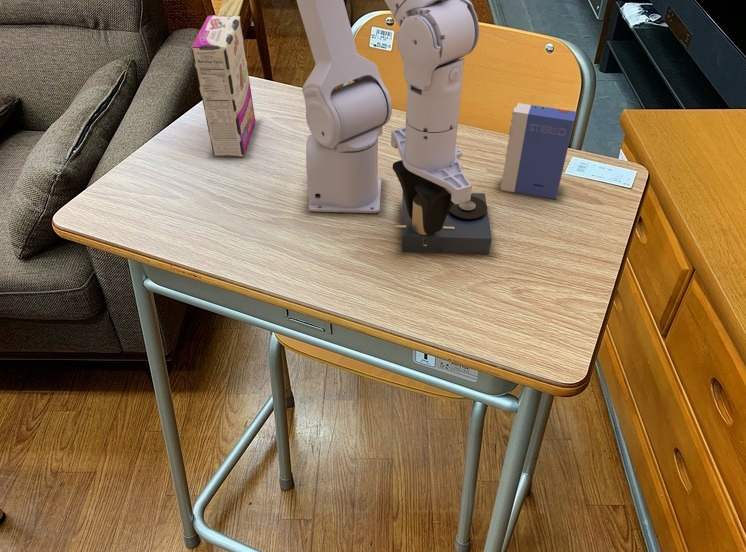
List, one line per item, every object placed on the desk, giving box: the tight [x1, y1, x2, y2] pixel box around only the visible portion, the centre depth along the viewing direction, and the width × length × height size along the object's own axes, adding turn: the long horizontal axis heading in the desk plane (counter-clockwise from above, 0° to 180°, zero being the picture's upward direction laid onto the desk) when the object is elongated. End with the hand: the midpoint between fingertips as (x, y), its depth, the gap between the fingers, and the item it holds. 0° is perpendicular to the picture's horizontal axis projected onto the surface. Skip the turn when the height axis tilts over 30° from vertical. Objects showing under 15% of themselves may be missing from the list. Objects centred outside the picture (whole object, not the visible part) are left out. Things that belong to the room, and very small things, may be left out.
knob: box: [412, 195, 433, 235], centre depth 81 cm, size 3×3×4 cm
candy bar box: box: [190, 14, 257, 158], centre depth 96 cm, size 11×5×16 cm, turn 179°
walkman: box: [500, 102, 577, 200], centre depth 89 cm, size 8×3×12 cm, turn 73°
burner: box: [448, 196, 488, 221], centre depth 85 cm, size 5×5×1 cm
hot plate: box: [394, 192, 492, 255], centre depth 85 cm, size 12×12×3 cm
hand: (424, 223), depth 82 cm, fingers closed on knob, 3 cm apart
